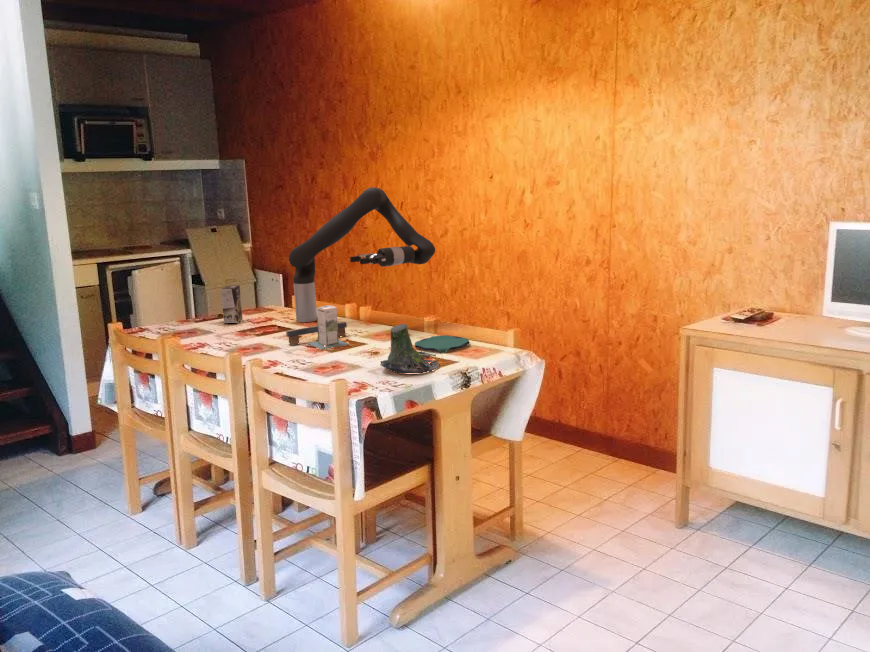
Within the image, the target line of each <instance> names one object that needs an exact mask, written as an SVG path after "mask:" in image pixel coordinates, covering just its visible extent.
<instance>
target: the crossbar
mask: <svg viewBox="0 0 870 652" xmlns="http://www.w3.org/2000/svg"><path fill="white" fill-rule="evenodd" d="M337 323H338V329H340V328H345V329H346V328H347V326H348V325H347V324H348V323H347V322H346V321H340V322H337ZM315 333H318V328H317V325H315V326H310V327H309V326H308V327H304V328H297V329H290V330H286V331H285V334H286V337H288V338H289V337H292V336H302V335H309V334H315Z"/></svg>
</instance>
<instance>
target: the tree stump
mask: <svg viewBox="0 0 870 652" xmlns="http://www.w3.org/2000/svg"><path fill="white" fill-rule="evenodd" d="M389 331H390V352H389V355H388V356H387V359H385V360H380V363H379V365H380V366H381V367H383V368H386V369H387V370H388V369H389V370H388V371H391V370H392V372H393V371H395V372H394V373H396V372H397V373H396V374H398V373H423V372H427V371H432V370H434V369H436V368H438V367H439V368H440V362H439V361H438V359H434V360H432V359H430V360H429V358H428V359H425V357H423V356H421V355H419V354H420V353H418V352H419V351H418V352H417V350H416V349H415V348H414V346H413V343H412V340H411V335H410V333H409V327H408V324H406V323H401V324H397V325H395V326H393V327H391V328H390V330H389ZM428 362H431V363H430V364H429V363H428Z"/></svg>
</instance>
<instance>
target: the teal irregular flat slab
mask: <svg viewBox="0 0 870 652" xmlns="http://www.w3.org/2000/svg"><path fill="white" fill-rule="evenodd" d="M469 344H470V339H468V338H467V337H462V336H456V335H455V336H454V335H449V334H448V335H447V334H446V335H443V334H442V335H433V336H430V337H427V338H423V339H420V340H417V341H415V342H414V347H415V348H418V349H421V350H424V351H417V350H416V351H417V352H418V353H419V355H421V356H422V357H423V358H428V359H429V358H430V356H433V357H434V356H435V357H436V356H437V355H436V354H433V353H432V354H431V353H428V352H425V351H435V352H436V351H438V352H439V353H441V354H445V353H447V351H449V350H455V349H460V348H462V347H465V346H467V345H469Z"/></svg>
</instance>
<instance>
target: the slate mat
mask: <svg viewBox="0 0 870 652" xmlns="http://www.w3.org/2000/svg"><path fill="white" fill-rule="evenodd" d="M308 344H310V345H312V346H314V347H317V348H319V349H325V348H331V347H337V346H342V347H345V346H344V345H348V346H350V343H348V342H346V341H343V340H340V339H338V343H336V344H332V345H327V346H326V347H324V345H322V344H319V343H318V341H313V342H307V345H308ZM310 345H309V346H310ZM312 346H311V347H312ZM314 347H313V348H314ZM337 348H338V347H337ZM319 349H318V350H319ZM331 349H332V348H331Z"/></svg>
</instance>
